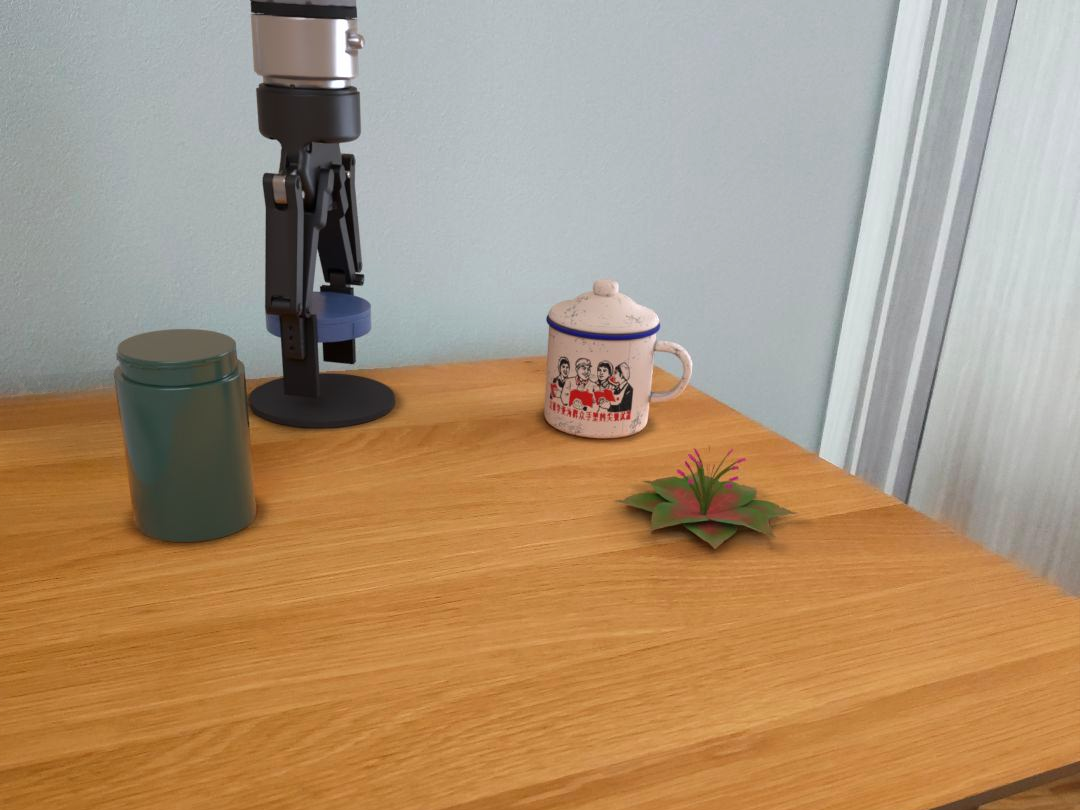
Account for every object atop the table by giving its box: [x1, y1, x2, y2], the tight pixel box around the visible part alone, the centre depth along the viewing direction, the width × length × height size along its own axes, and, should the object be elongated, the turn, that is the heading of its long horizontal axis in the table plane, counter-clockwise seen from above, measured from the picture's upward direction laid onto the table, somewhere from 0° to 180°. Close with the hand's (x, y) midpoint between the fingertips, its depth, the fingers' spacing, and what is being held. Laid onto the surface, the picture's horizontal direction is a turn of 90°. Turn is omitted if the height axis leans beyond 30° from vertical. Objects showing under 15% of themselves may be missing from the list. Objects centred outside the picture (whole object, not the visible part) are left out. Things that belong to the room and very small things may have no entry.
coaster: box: [248, 372, 396, 429], centre depth 89 cm, size 12×12×1 cm
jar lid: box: [264, 291, 372, 344], centre depth 86 cm, size 8×8×2 cm
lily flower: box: [613, 446, 799, 550], centre depth 72 cm, size 12×12×5 cm
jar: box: [113, 328, 257, 543], centre depth 66 cm, size 8×8×12 cm
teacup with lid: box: [543, 278, 693, 439], centre depth 85 cm, size 12×9×12 cm
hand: (321, 377), depth 88 cm, fingers closed on jar lid, 8 cm apart
